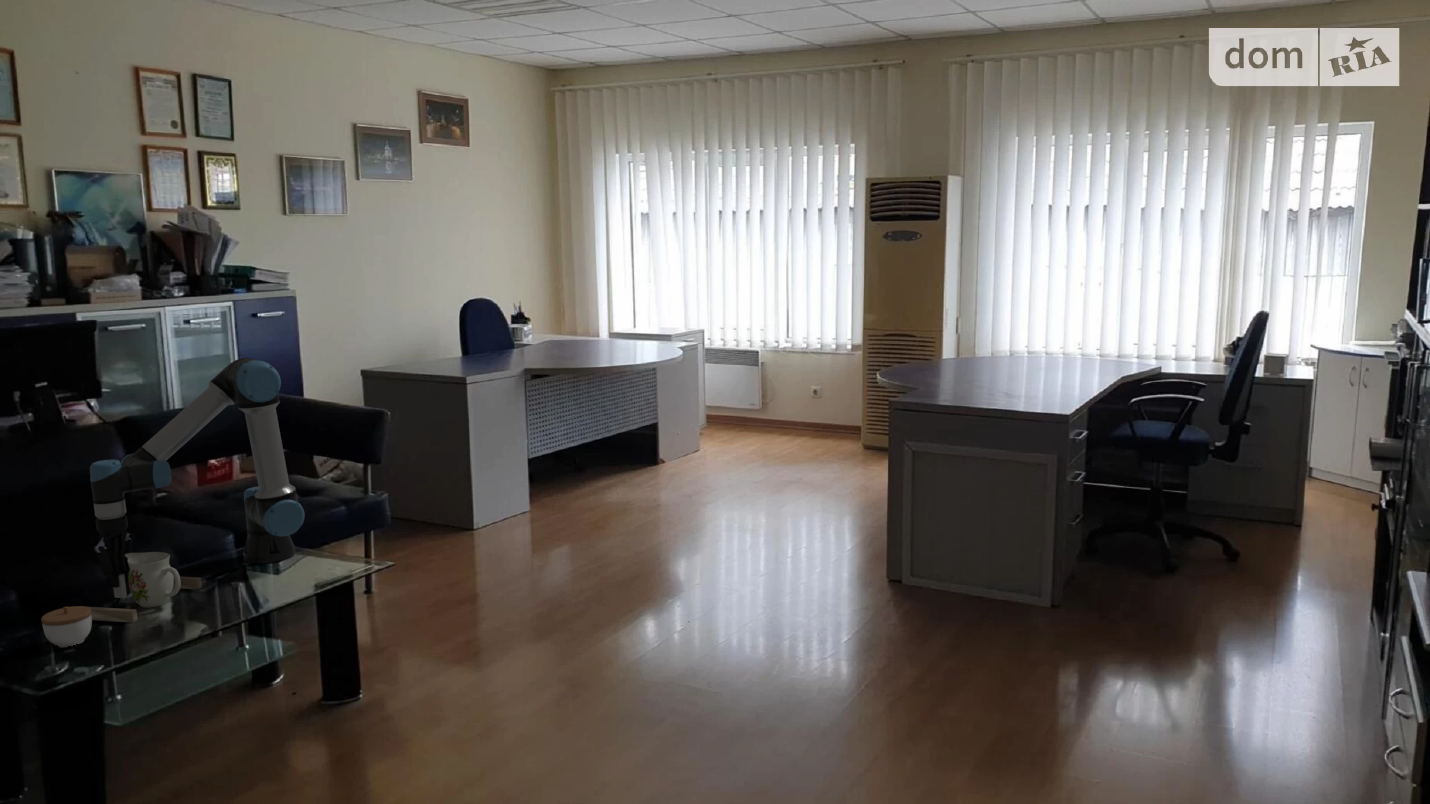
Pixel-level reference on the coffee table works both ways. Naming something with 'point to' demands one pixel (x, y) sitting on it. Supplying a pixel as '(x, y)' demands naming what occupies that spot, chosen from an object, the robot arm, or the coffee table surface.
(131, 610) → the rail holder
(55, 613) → the lidded jar
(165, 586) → the pitcher
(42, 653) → the coffee table surface
